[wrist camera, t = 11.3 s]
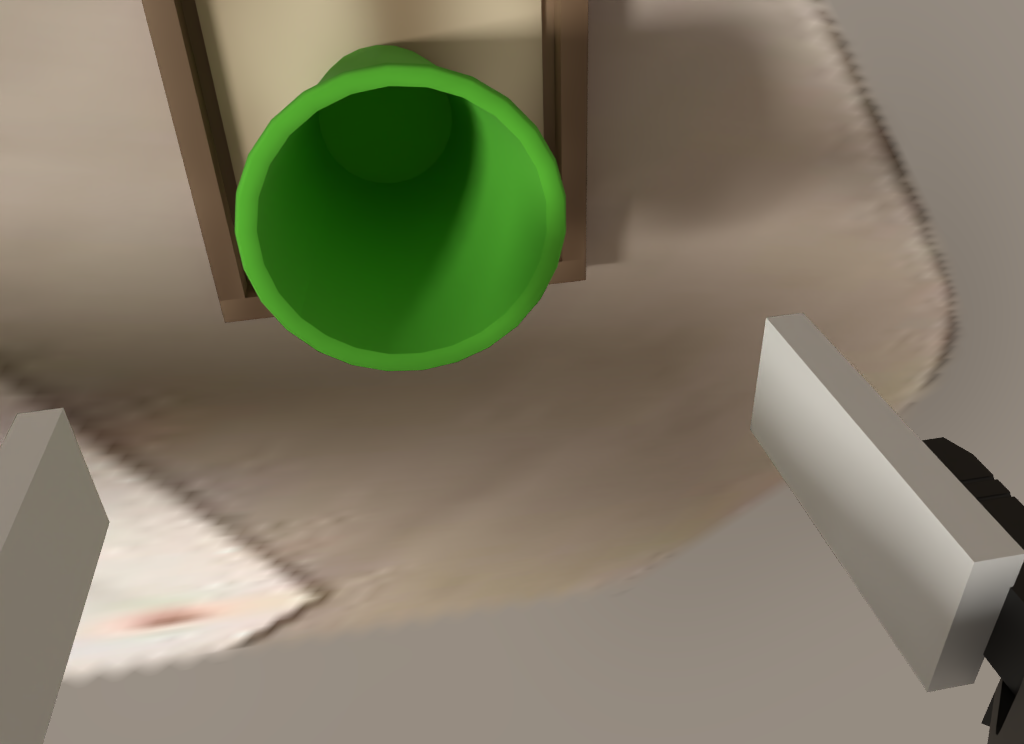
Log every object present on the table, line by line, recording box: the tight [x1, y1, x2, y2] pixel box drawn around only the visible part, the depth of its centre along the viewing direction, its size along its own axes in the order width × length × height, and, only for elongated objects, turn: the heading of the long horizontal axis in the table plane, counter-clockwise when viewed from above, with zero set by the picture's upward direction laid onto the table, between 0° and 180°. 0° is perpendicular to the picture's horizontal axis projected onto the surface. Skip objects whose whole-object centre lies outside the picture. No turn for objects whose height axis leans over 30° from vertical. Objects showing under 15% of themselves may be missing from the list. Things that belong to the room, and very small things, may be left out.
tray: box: [142, 0, 588, 323], centre depth 33 cm, size 15×15×2 cm
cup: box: [235, 45, 566, 371], centre depth 28 cm, size 9×9×11 cm
